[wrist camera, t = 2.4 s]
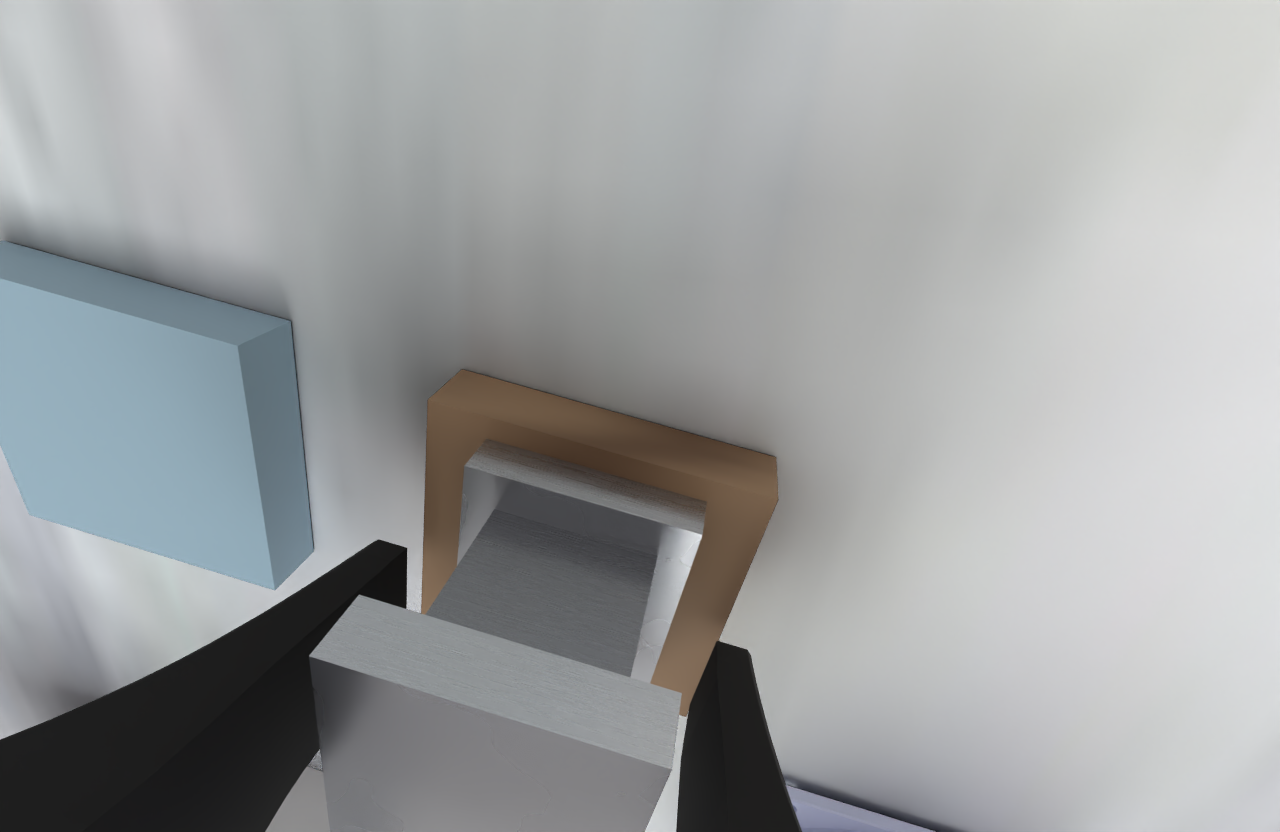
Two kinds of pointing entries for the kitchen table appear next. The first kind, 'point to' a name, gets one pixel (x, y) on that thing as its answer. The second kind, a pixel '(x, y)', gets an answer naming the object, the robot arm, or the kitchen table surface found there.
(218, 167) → the kitchen table surface
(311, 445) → the kitchen table surface
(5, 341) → the stand
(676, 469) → the stand
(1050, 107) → the kitchen table surface
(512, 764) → the i-beam
